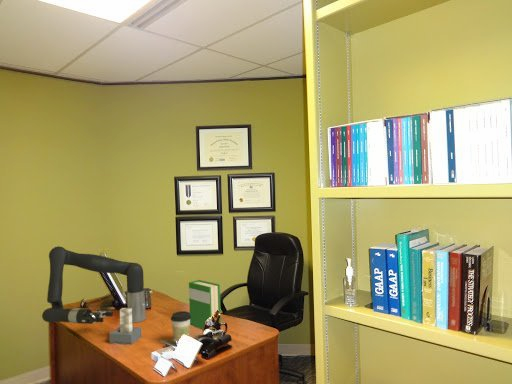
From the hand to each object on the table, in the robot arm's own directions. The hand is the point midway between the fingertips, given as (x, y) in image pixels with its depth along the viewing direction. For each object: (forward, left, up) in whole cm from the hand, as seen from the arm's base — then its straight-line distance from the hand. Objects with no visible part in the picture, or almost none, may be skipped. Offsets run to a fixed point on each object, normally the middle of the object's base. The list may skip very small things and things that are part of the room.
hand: (107, 317), depth 195 cm
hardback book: (-48, +15, -12) cm, 52 cm away
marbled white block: (-7, +7, -10) cm, 15 cm away
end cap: (-7, +7, -11) cm, 15 cm away
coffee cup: (-28, +30, -12) cm, 43 cm away
